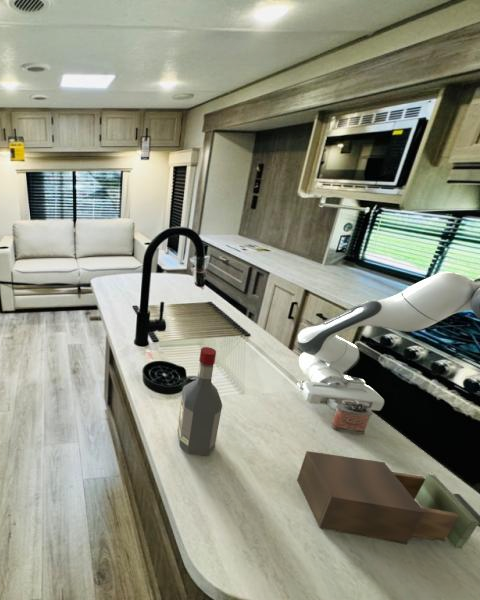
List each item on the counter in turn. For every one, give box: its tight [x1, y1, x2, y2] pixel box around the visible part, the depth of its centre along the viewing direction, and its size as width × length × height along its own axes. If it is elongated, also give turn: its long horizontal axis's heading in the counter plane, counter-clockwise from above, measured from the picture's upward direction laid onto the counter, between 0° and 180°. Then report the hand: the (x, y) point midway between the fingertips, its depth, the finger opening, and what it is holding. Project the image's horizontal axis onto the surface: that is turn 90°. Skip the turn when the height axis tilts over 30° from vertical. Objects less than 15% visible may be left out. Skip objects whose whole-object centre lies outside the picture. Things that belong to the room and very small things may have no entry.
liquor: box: [177, 346, 223, 457], centre depth 83 cm, size 9×9×30 cm
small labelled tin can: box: [330, 400, 373, 435], centre depth 90 cm, size 8×3×10 cm, turn 75°
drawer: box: [392, 471, 480, 550], centre depth 66 cm, size 18×10×8 cm, turn 77°
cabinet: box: [296, 450, 425, 545], centre depth 68 cm, size 16×12×10 cm
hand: (355, 413), depth 90 cm, fingers closed on small labelled tin can, 5 cm apart
